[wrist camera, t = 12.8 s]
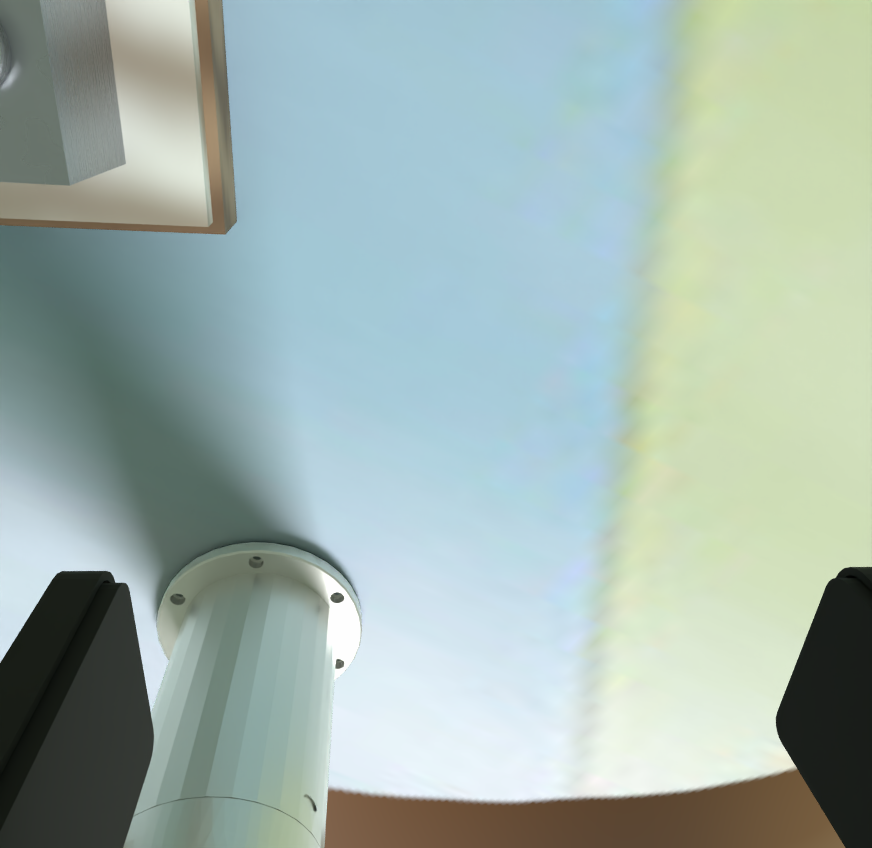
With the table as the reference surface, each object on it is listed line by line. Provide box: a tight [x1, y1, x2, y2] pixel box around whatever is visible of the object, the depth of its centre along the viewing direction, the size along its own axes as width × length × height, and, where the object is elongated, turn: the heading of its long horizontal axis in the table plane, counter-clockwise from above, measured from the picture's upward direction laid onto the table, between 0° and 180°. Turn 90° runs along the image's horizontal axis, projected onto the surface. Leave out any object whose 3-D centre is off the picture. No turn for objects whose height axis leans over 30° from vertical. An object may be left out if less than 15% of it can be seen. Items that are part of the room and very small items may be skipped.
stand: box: [0, 0, 237, 234], centre depth 28 cm, size 14×12×4 cm
